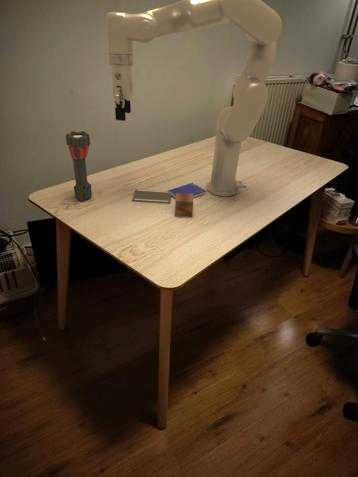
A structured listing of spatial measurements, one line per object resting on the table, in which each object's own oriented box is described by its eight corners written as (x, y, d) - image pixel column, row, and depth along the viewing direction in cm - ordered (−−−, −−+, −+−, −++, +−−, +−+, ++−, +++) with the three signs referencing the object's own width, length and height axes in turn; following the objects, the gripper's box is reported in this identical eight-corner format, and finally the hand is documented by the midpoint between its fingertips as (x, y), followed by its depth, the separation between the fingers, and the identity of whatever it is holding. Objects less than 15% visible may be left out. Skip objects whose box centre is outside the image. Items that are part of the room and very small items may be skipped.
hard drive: (191, 182, 133) (167, 189, 125) (206, 190, 128) (181, 198, 121) (191, 185, 133) (167, 193, 126) (205, 193, 129) (181, 202, 122)
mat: (171, 192, 128) (171, 191, 128) (170, 203, 121) (170, 202, 120) (135, 190, 128) (135, 189, 128) (132, 201, 120) (132, 200, 120)
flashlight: (88, 189, 126) (81, 128, 113) (99, 196, 122) (93, 134, 109) (69, 194, 122) (60, 132, 109) (80, 202, 117) (72, 139, 104)
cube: (191, 208, 119) (193, 193, 115) (192, 217, 114) (193, 202, 110) (175, 207, 119) (176, 192, 115) (174, 216, 114) (175, 200, 110)
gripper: (127, 64, 96) (130, 124, 105) (137, 57, 110) (138, 110, 120) (102, 62, 96) (106, 122, 106) (114, 56, 110) (117, 109, 120)
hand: (123, 116), depth 113 cm, fingers open, 9 cm apart
